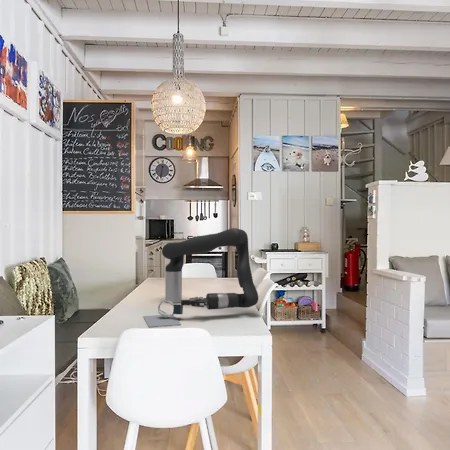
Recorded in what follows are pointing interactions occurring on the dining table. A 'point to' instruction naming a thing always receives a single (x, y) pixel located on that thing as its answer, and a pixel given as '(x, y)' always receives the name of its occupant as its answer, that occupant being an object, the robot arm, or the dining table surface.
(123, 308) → the dining table surface
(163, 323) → the mat
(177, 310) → the watch
